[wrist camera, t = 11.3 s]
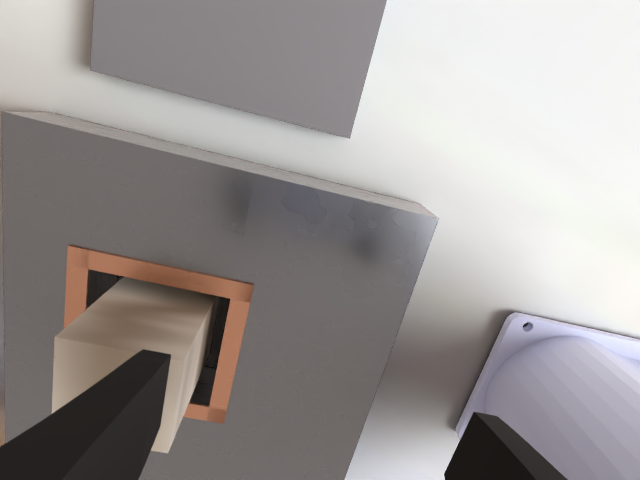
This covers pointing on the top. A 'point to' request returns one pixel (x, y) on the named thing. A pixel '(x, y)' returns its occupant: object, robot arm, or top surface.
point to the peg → (138, 343)
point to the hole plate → (210, 287)
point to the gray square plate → (245, 53)
